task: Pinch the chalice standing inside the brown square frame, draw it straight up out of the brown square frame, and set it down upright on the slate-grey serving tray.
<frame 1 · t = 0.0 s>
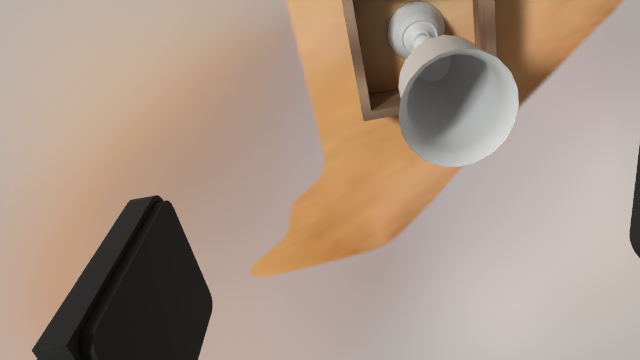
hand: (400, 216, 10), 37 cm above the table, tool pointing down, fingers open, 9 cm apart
chalice: (415, 30, 45), resting in brown square frame
brown square frame: (416, 31, 45), on the table
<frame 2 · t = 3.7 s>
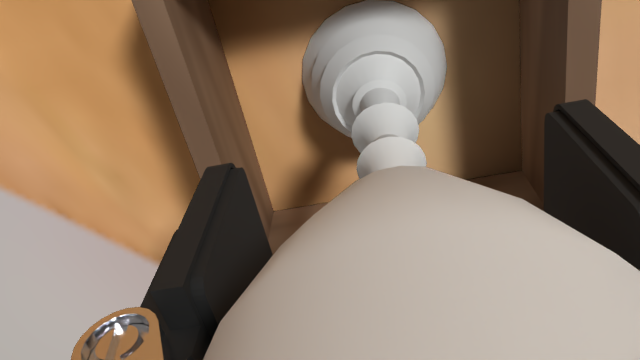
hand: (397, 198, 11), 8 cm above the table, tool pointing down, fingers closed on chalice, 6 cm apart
chalice: (373, 72, 18), resting in brown square frame, touching gripper
brown square frame: (374, 73, 18), on the table
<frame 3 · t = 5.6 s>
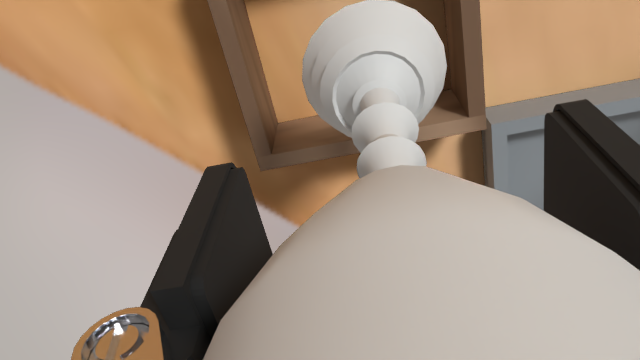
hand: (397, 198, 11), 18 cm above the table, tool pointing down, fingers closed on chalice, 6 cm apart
tray: (601, 176, 31), on the table
chalice: (373, 71, 18), point 9 cm above the table, touching gripper
brown square frame: (346, 18, 26), on the table
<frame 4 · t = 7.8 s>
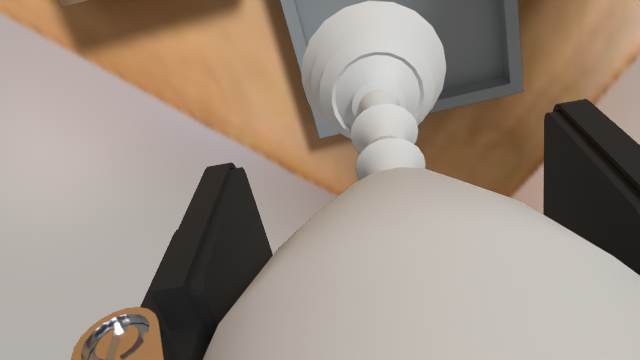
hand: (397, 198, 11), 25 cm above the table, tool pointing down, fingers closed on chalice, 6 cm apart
tray: (399, 21, 34), on the table
chalice: (372, 73, 18), point 17 cm above the table, touching gripper
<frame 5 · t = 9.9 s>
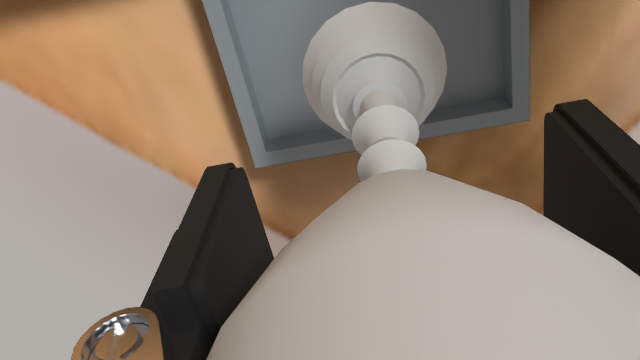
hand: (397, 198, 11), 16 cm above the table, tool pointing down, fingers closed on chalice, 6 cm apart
tray: (366, 16, 25), on the table
chalice: (373, 73, 18), point 8 cm above the table, touching gripper
when the fingers open (10 cm above the table, at t = 11.9 s): chalice drops 1 cm, resting on tray.
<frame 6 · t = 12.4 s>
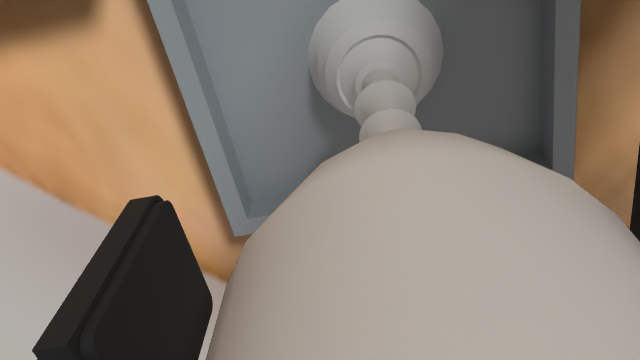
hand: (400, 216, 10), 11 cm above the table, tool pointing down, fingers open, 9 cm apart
tray: (370, 54, 20), on the table
chalice: (374, 56, 19), point 1 cm above the table, touching tray
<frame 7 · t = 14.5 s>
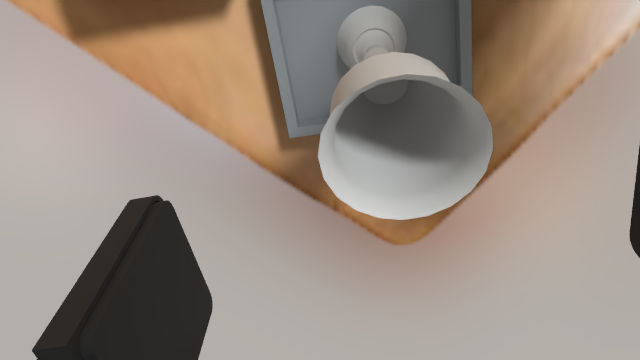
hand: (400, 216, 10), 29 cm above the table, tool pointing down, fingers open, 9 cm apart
tray: (368, 40, 38), on the table
chalice: (371, 40, 37), point 1 cm above the table, touching tray
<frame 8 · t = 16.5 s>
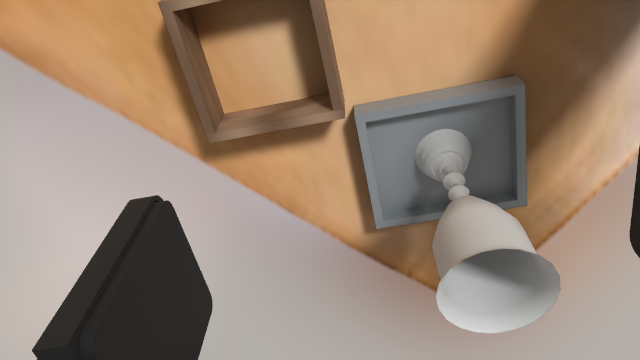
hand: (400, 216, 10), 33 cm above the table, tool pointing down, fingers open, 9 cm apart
tray: (440, 151, 47), on the table
chalice: (442, 153, 46), point 1 cm above the table, touching tray
brown square frame: (263, 48, 42), on the table
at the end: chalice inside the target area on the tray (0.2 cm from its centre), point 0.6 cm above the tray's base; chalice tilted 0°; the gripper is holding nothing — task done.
